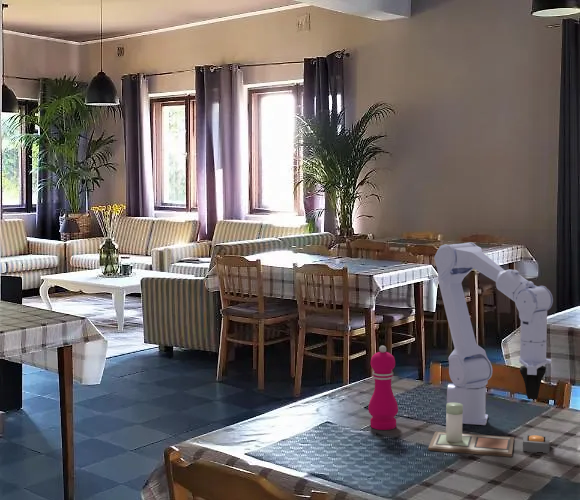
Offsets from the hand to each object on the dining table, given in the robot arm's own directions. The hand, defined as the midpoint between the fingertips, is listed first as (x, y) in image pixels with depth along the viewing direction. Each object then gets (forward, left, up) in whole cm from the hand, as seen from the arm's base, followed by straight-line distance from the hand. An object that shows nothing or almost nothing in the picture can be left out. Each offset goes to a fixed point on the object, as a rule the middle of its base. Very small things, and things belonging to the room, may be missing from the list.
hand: (532, 398), depth 196 cm
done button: (+1, -6, -9) cm, 11 cm away
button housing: (+1, -6, -10) cm, 11 cm away
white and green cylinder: (-17, -7, -9) cm, 20 cm away
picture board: (-13, -7, -10) cm, 18 cm away
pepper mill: (-35, +2, -10) cm, 36 cm away
